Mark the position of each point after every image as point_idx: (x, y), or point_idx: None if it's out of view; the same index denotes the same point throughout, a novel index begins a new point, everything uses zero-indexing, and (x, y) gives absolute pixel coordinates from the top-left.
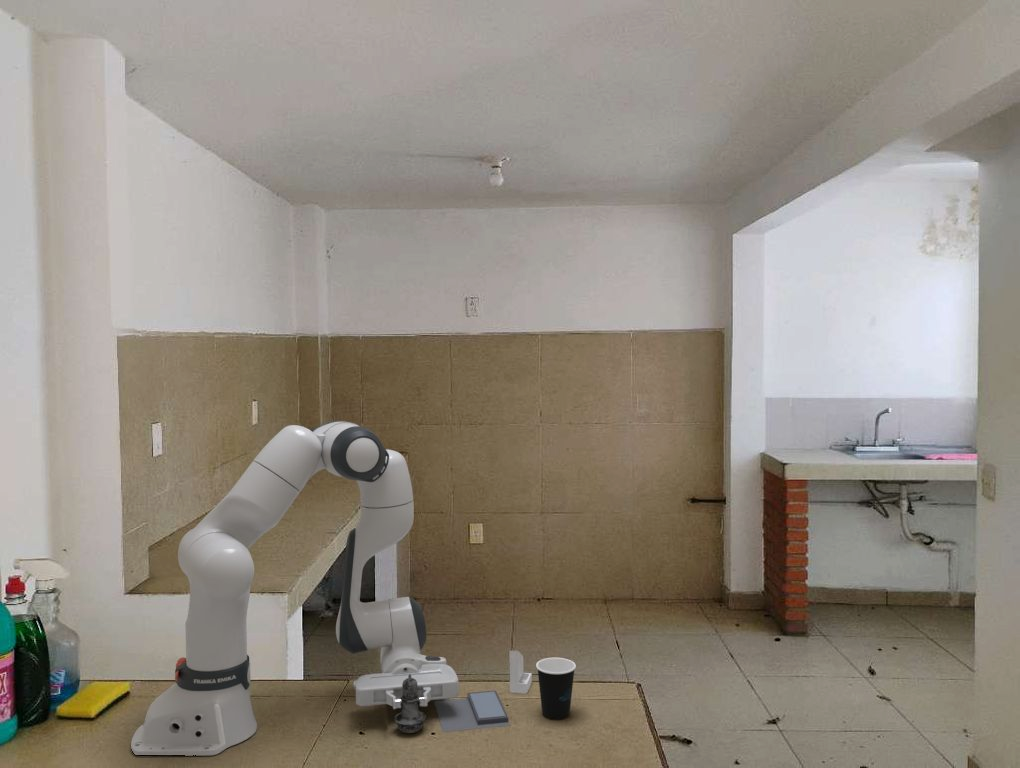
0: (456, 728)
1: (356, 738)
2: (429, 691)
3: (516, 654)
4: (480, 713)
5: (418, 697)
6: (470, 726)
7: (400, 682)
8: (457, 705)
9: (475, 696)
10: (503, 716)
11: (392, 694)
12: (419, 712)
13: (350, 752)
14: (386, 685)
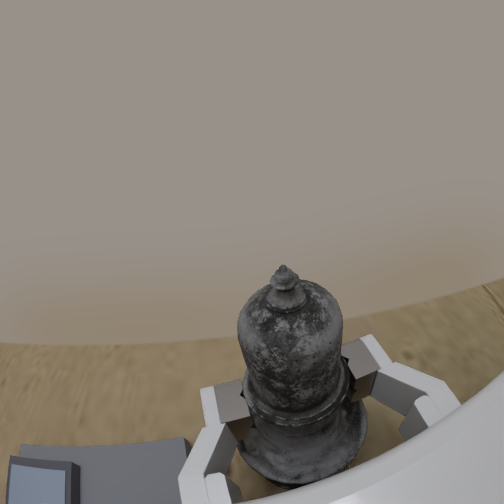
0: (140, 456)
1: (458, 386)
2: (188, 460)
3: None
4: (57, 499)
5: (247, 383)
6: (100, 461)
7: (414, 488)
8: None
9: None
10: (16, 464)
11: (406, 381)
12: (259, 433)
13: (428, 326)
14: (478, 410)
